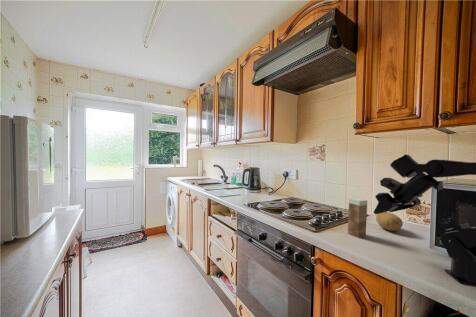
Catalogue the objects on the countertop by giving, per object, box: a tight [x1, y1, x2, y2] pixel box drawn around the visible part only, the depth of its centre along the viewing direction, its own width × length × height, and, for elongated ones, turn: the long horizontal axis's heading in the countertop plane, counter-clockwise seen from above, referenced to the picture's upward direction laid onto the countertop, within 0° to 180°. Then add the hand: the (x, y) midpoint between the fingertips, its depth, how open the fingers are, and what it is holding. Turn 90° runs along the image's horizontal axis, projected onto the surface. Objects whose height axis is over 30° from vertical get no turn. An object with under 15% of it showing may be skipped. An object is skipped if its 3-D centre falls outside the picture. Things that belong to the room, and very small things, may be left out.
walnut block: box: [347, 197, 368, 239], centre depth 90 cm, size 5×5×16 cm
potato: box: [375, 211, 404, 232], centre depth 98 cm, size 10×14×8 cm
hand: (382, 212), depth 80 cm, fingers open, 9 cm apart
